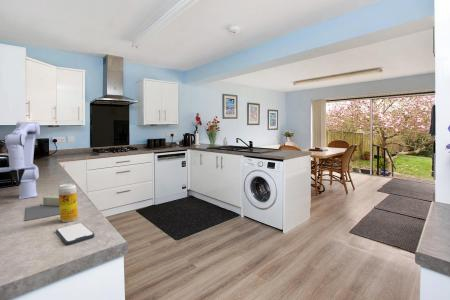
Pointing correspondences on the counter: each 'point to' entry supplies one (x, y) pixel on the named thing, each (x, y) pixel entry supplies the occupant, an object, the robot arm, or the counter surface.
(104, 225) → the counter surface
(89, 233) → the phone case
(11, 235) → the counter surface
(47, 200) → the skincare box
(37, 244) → the counter surface
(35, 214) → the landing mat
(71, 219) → the beer can
